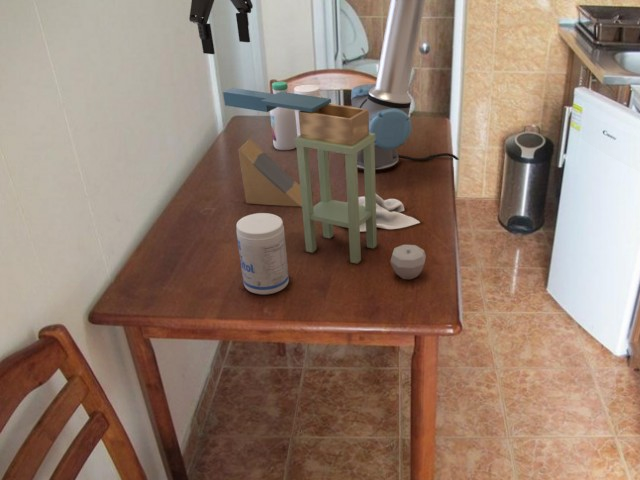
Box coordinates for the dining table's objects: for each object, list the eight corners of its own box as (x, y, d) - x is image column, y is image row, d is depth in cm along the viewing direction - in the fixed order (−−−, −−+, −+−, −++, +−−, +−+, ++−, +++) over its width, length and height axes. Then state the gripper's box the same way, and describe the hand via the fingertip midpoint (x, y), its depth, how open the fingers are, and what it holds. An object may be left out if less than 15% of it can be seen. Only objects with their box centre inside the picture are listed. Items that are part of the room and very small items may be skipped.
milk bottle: (302, 143, 214) (296, 80, 203) (291, 152, 208) (285, 87, 197) (280, 141, 216) (274, 78, 205) (269, 149, 210) (262, 85, 199)
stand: (304, 251, 154) (294, 138, 139) (327, 233, 161) (319, 124, 146) (357, 264, 148) (352, 148, 134) (378, 245, 156) (375, 133, 141)
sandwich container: (301, 207, 174) (296, 152, 166) (245, 203, 176) (237, 149, 168) (310, 193, 181) (305, 140, 173) (256, 190, 183) (249, 137, 175)
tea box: (300, 137, 139) (298, 111, 137) (319, 126, 145) (317, 101, 142) (352, 146, 135) (350, 119, 132) (369, 134, 141) (368, 109, 138)
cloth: (327, 231, 162) (326, 208, 159) (338, 200, 177) (337, 178, 174) (419, 234, 161) (419, 210, 157) (421, 201, 176) (421, 180, 173)
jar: (297, 127, 227) (293, 83, 219) (325, 127, 227) (322, 83, 219) (294, 139, 218) (290, 93, 209) (323, 138, 218) (320, 92, 210)
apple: (401, 262, 149) (401, 236, 145) (432, 271, 146) (433, 245, 142) (383, 278, 143) (382, 252, 140) (415, 288, 140) (415, 261, 136)
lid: (219, 107, 145) (216, 94, 144) (240, 98, 151) (238, 85, 149) (313, 123, 136) (311, 108, 135) (331, 112, 142) (331, 98, 140)
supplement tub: (235, 285, 141) (224, 223, 133) (269, 268, 147) (261, 208, 139) (264, 301, 136) (256, 237, 128) (299, 283, 142) (292, 221, 134)
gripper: (234, -59, 158) (246, 36, 169) (160, -48, 139) (179, 57, 151) (260, -57, 155) (270, 38, 167) (188, -47, 136) (205, 60, 148)
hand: (227, 47), depth 159 cm, fingers open, 13 cm apart
